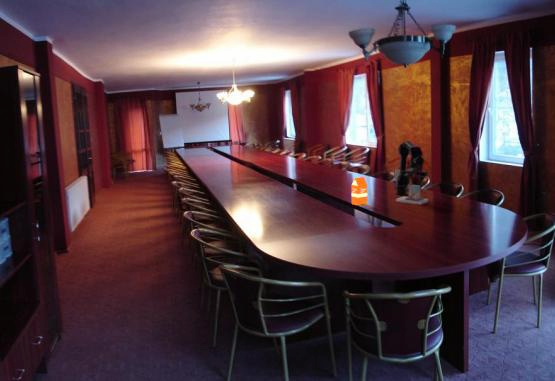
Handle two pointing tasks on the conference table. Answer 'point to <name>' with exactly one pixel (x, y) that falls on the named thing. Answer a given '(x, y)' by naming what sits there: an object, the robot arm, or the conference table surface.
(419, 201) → the grey tray
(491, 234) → the conference table surface
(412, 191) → the teal block
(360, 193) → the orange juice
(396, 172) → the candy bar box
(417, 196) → the birch block
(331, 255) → the conference table surface
